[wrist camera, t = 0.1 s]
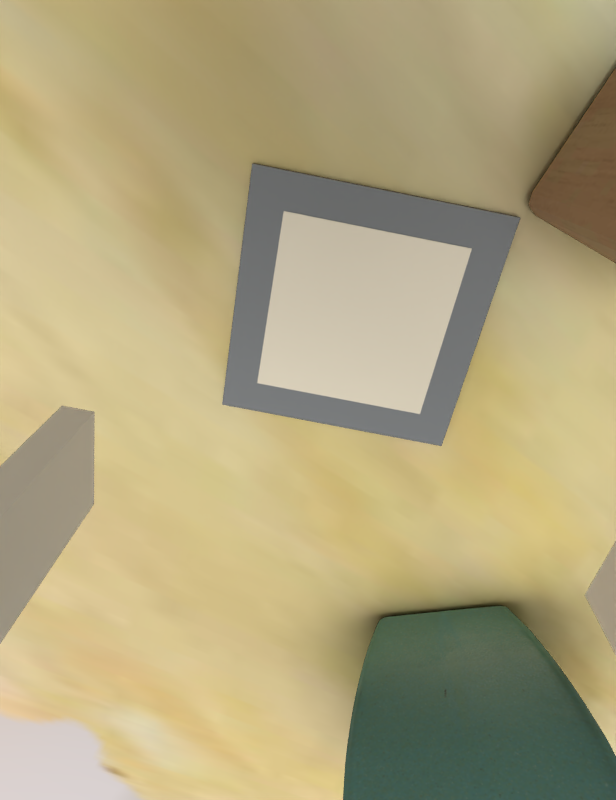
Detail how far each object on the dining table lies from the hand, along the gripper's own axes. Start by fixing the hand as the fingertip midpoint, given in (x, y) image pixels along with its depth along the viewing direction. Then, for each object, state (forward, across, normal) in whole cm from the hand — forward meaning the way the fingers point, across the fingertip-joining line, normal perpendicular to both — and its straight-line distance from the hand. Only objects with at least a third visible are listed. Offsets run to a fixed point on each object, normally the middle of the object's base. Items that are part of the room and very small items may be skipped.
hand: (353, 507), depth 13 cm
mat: (+28, +2, -4) cm, 28 cm away
